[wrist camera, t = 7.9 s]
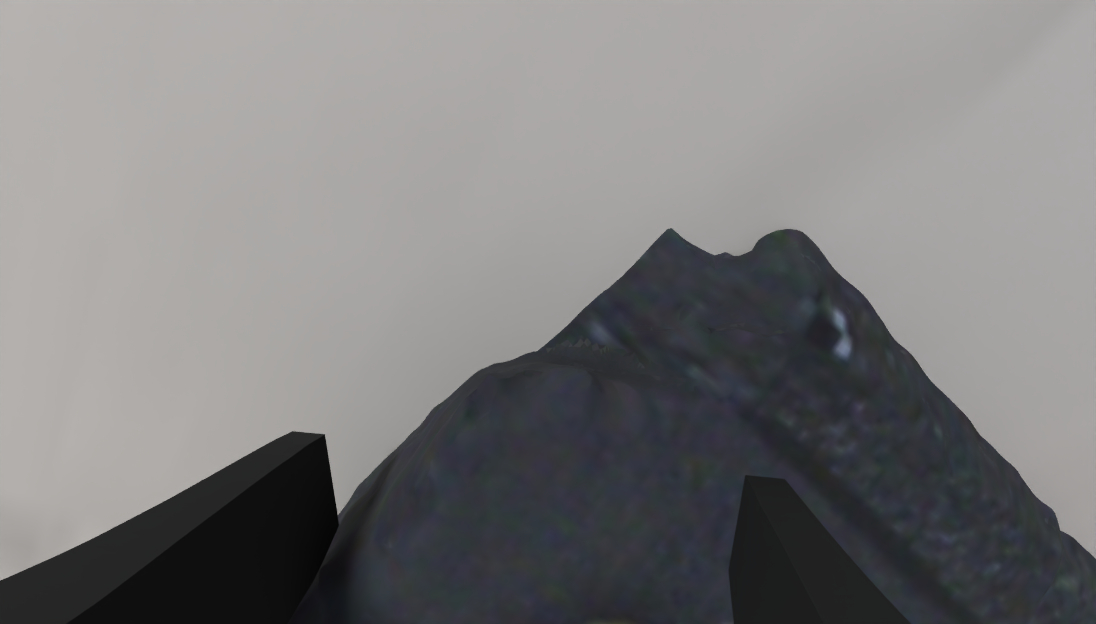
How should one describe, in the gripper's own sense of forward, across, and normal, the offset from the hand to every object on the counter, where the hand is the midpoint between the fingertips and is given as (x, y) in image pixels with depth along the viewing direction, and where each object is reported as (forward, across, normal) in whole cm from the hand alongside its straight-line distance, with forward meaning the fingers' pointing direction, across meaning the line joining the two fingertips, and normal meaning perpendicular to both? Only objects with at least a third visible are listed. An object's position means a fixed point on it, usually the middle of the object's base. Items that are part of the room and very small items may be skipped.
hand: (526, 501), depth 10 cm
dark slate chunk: (+3, -6, +7) cm, 10 cm away
